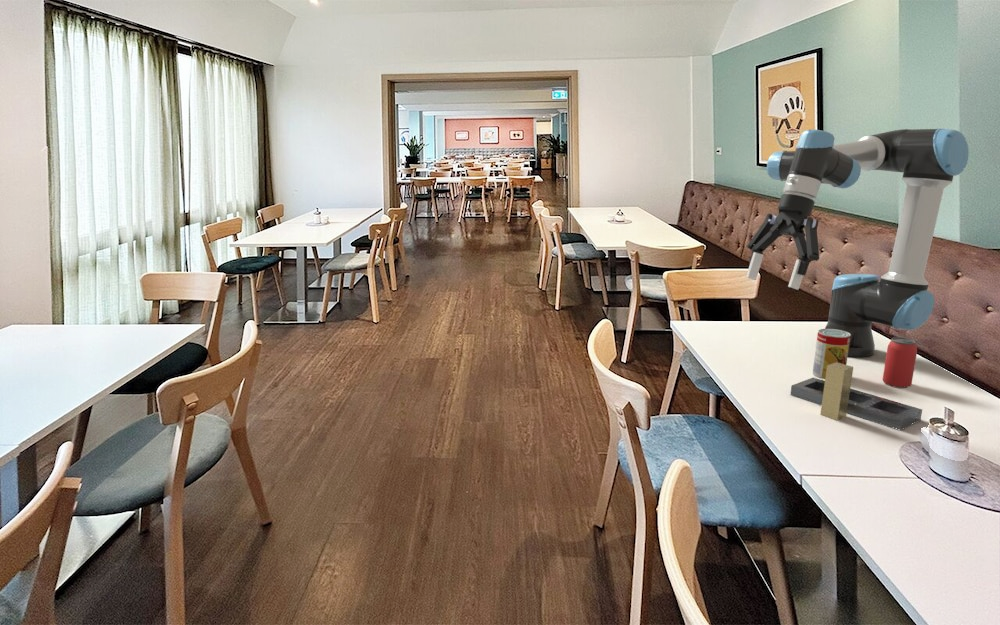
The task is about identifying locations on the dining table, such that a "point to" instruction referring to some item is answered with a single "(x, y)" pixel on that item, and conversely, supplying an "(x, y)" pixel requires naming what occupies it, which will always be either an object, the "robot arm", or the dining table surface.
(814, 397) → the grey slotted tray
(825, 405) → the wooden block
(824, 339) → the canned food
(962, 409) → the dining table surface
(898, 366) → the beer can
